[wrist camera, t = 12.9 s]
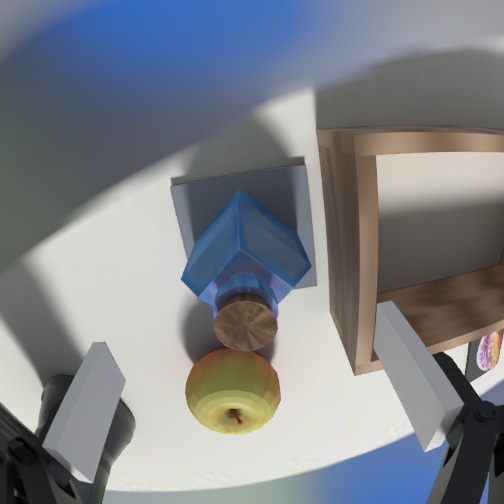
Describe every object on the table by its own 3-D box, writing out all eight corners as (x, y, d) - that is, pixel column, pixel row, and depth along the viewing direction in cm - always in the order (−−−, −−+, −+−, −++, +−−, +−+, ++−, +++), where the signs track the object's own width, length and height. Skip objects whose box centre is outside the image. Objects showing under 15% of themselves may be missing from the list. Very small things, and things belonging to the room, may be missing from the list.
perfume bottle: (194, 244, 26) (161, 333, 15) (239, 187, 24) (234, 245, 13) (251, 284, 28) (254, 385, 17) (297, 233, 26) (333, 317, 15)
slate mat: (200, 299, 29) (199, 302, 28) (171, 185, 24) (170, 187, 24) (315, 282, 28) (316, 285, 28) (304, 164, 24) (306, 165, 23)
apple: (290, 380, 34) (298, 435, 26) (217, 401, 35) (213, 454, 28) (255, 321, 30) (258, 380, 23) (173, 350, 32) (159, 406, 24)
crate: (330, 312, 30) (354, 375, 22) (316, 129, 23) (353, 134, 15) (504, 270, 29) (547, 307, 20) (516, 131, 22) (574, 145, 14)
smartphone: (509, 298, 30) (497, 365, 36) (506, 295, 31) (495, 362, 37) (472, 322, 31) (464, 387, 37) (469, 319, 32) (462, 383, 37)
